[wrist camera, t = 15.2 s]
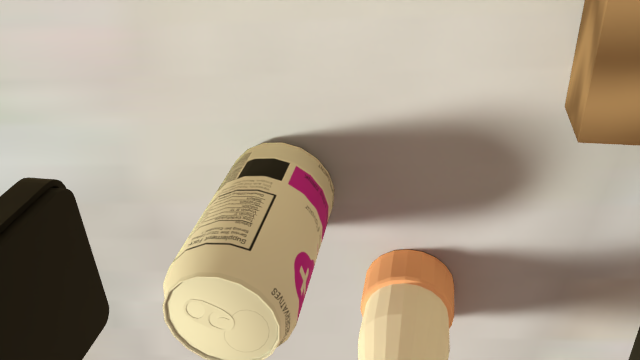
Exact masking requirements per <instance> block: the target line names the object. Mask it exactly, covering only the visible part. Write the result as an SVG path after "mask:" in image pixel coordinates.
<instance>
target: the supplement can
mask: <svg viewBox="0 0 640 360" xmlns="http://www.w3.org/2000/svg"><path fill="white" fill-rule="evenodd" d="M333 200H334V187H333V184H332V181H331V178H330V175H329V173H328V171H327V170H326V169H325V168H324V166H323V165H322V164H321V163H320V161H319V160H318V159H317V158H316V157H314V156H313V155H311V154H309V153H308V152H306V151H305V150H303V149H302V148H300V147H296V146H293V145H289V144H286V143H283V142H281V143H262V144H260V145H257V146H255V147H252V148H249V149H247V150H246V151H245V152H244V153H243V154H242V155H241V156H240V157H239V158H238V159H237V160H236V162H235V163H234V165H233V166H232V168H231V170H230V171H229V173H228V174H227V176H226V178H225V179H224V181H223V183H222V184H221V186H220V187H219V189H218V191H217V192H216V194H215V195H214V197H213V199H212V200H211V202H210V203H209V205H208V207H207V208H206V210H205V211H204V213H203V215H202V216H201V218H200V219H199V221H198V223H197V224H196V226H195V227H194V229H193V231H192V232H191V234H190V235H189V237H188V239H187V240H186V242H185V243H184V245H183V247H182V248H181V250H180V251H179V253H178V255H177V256H176V258H175V259H174V261H173V263H172V264H171V266H170V267H169V269H168V272H167V275H166V278H165V281H164V283H163V288H164V298H165V300H164V303H163V312H164V319H165V322H166V324H167V326H168V327H169V329H170V331H171V333H172V334H173V336H174V337H175V338H176V339H177V340H178V341H179V342H181V343H182V344H183V345H184V346H185V347H186V348H187V349H188V350H190V351H192V352H194V353H195V354H197V355H199V356H201V357H202V358H204V359H207V360H264V359H265V358H267V357H268V356H270V355H271V354H272V353H273V352H274V350H275V348H277V347H278V346H279V345H281V344H282V343H284V342H285V341H286V340H288V338H289V336H290V334H291V333H292V331H293V329H294V328H295V326H296V323H297V320H298V317H299V314H300V310H301V307H302V304H303V301H304V298H305V294H306V291H307V288H308V285H309V281H310V278H311V275H312V272H313V268H314V265H315V262H316V259H317V255H318V252H319V249H320V246H321V242H322V239H323V236H324V233H325V230H326V226H327V223H328V220H329V217H330V213H331V210H332V207H333Z"/></svg>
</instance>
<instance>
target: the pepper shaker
mask: <svg viewBox="0 0 640 360" xmlns="http://www.w3.org/2000/svg"><path fill="white" fill-rule="evenodd" d="M361 313H362V316H363V320H362V324H361V329H360V333H359V340H358V360H448V356H449V352H450V346H449V328H450V327H451V325H452V322H453V318H454V283H453V278H452V275H451V273H450V272H449V270H448V269H447V267H446V266H445V265H444V264H443V263H442V262H440V261H439V260H438V259H437V258H436V257H433V256H431V255H429V254H426V253H424V252H421V251H415V250H409V249H407V250H396V251H392V252H389V253H386V254H384V255H381V256H380V257H379V258H378V259H376V260H375V261H374V262H372V264H371V266H370V267H369V269H368V271H367V274H366V279H365V284H364V290H363V295H362V301H361Z"/></svg>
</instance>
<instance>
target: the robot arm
mask: <svg viewBox="0 0 640 360" xmlns="http://www.w3.org/2000/svg"><path fill="white" fill-rule="evenodd" d="M108 316H109V305H108V301H107V298H106V295H105V292H104V289H103V285H102V282H101V279H100V276H99V273H98V270H97V266H96V263H95V260H94V257H93V254H92V251H91V247H90V244H89V241H88V238H87V235H86V231H85V228H84V225H83V222H82V219H81V216H80V212H79V209H78V206H77V203H76V200H75V197H74V195H73V193H72V192H71V191H70V190H68V189H66V187H65V185H64V184H63V183H62V182H61V181H59V180H54V179H40V178H23V179H21V180H20V181H18V182H17V183H16V184H15V185H13V186H12V187H11V188H10V189H9V190H7V191H6V192H5V193H4V194H3V195H2V196H0V360H82V359H83V358H84V356H85V355H86V353H87V352H88V350H89V349H90V347H91V346H92V344H93V343H94V341H95V340H96V338H97V337H98V335H99V334H100V333H101V331H102V330H103V328H104V326H105V325H106V323H107V320H108ZM629 360H640V327H639V330H638V333H637V336H636V339H635V342H634V345H633V348H632V351H631V354H630V357H629Z"/></svg>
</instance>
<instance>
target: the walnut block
mask: <svg viewBox="0 0 640 360" xmlns="http://www.w3.org/2000/svg"><path fill="white" fill-rule="evenodd" d="M565 108H566V111H567V114H568V116H569V119H570V122H571V125H572V127H573V130H574V133H575V135H576V138H577V141H578V142H581V143H602V144H623V145H640V0H585V2H584V8H583V13H582V18H581V24H580V29H579V34H578V39H577V45H576V50H575V55H574V61H573V66H572V71H571V76H570V82H569V87H568V92H567V97H566V103H565Z"/></svg>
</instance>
